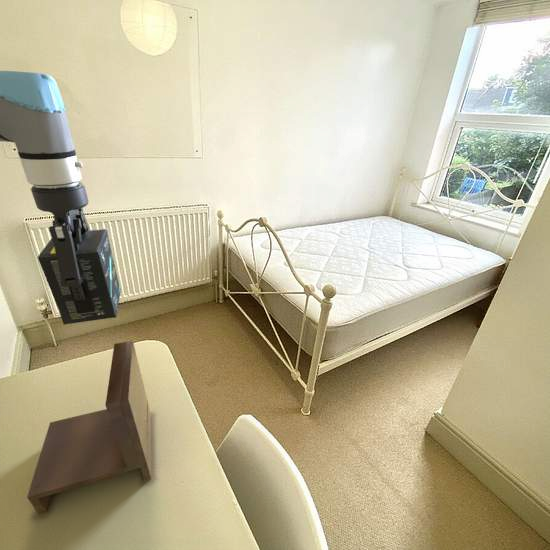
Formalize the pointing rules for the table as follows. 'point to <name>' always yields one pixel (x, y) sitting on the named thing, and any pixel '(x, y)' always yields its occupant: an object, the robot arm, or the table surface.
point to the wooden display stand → (98, 436)
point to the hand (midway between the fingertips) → (90, 294)
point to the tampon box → (95, 271)
